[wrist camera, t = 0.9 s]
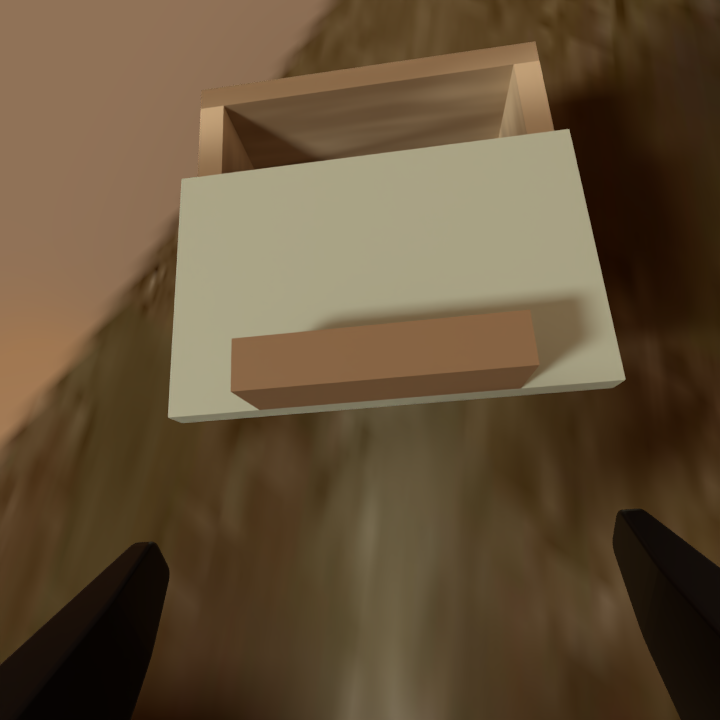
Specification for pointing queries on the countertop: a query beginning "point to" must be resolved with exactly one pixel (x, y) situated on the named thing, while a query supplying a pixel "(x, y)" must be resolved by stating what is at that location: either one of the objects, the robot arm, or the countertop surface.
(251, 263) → the lid
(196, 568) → the countertop surface
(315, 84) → the box
